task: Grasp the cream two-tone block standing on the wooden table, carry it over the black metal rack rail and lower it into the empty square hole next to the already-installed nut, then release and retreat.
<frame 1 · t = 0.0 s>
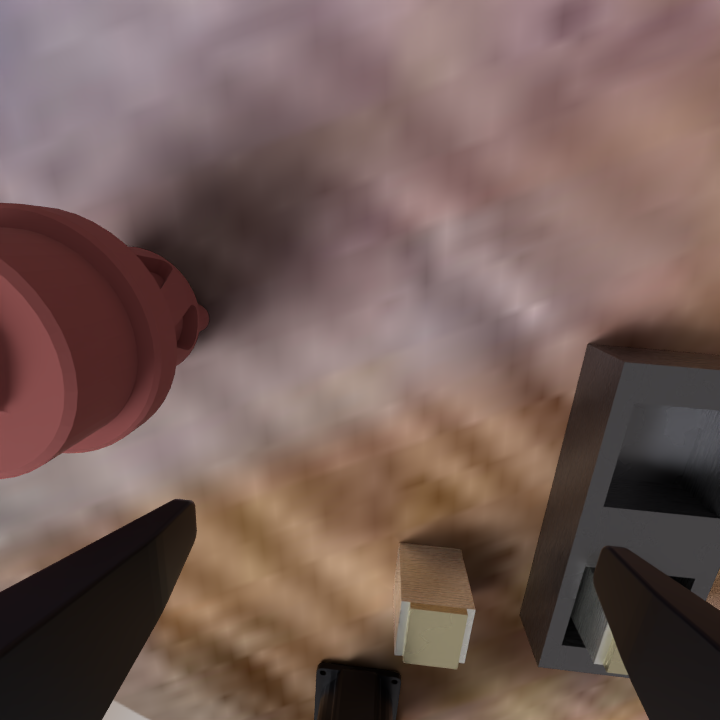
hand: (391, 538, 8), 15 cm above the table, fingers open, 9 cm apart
installed nut: (598, 571, 25), resting on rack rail
cream two-tone block: (426, 569, 27), on the table
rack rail: (614, 502, 24), on the table
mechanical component: (157, 307, 23), on the table
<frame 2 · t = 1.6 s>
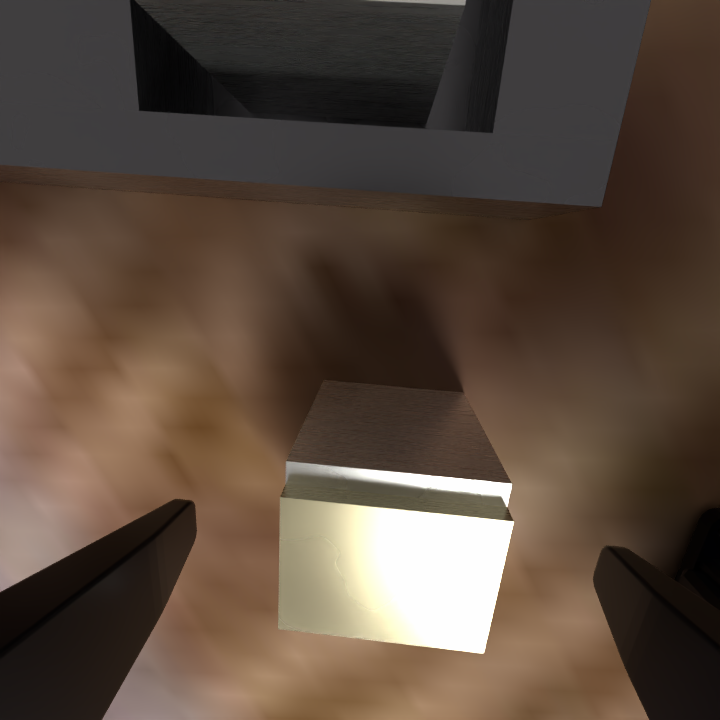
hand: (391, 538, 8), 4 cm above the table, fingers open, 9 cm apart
installed nut: (342, 9, 8), resting on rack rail
cream two-tone block: (386, 447, 12), on the table
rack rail: (136, 10, 9), on the table
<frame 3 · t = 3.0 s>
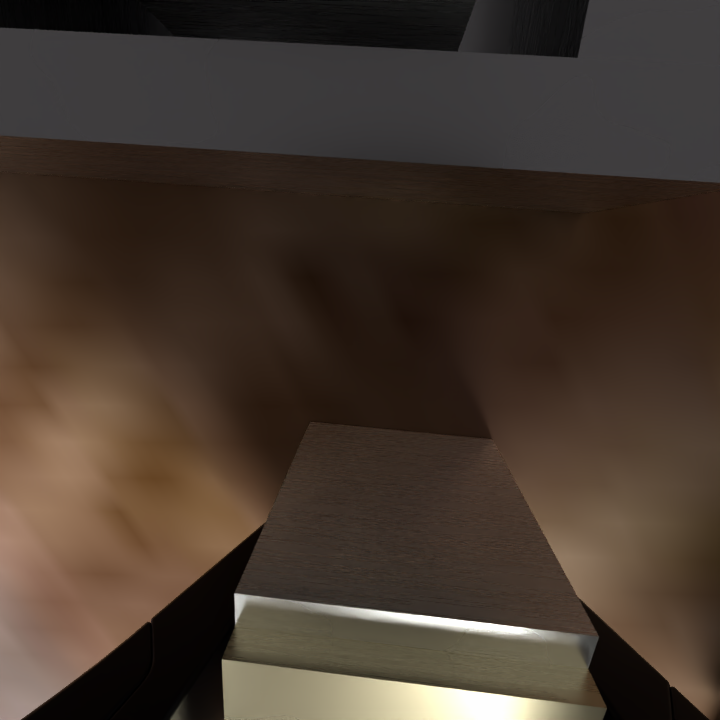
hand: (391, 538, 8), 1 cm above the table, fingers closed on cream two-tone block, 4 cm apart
cream two-tone block: (391, 507, 9), on the table, touching gripper
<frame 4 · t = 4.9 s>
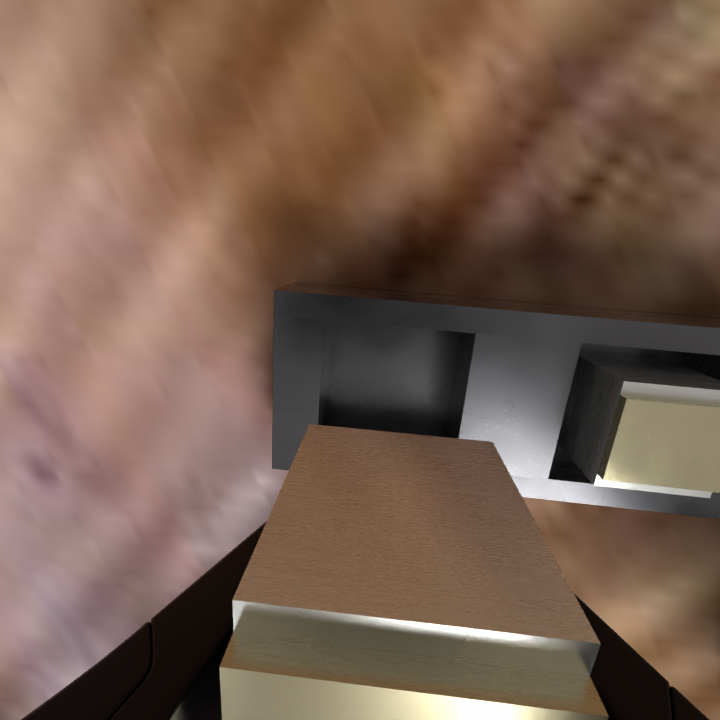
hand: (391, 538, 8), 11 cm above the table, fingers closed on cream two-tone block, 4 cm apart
installed nut: (601, 395, 18), resting on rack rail
cream two-tone block: (391, 509, 9), point 10 cm above the table, touching gripper
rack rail: (492, 381, 19), on the table
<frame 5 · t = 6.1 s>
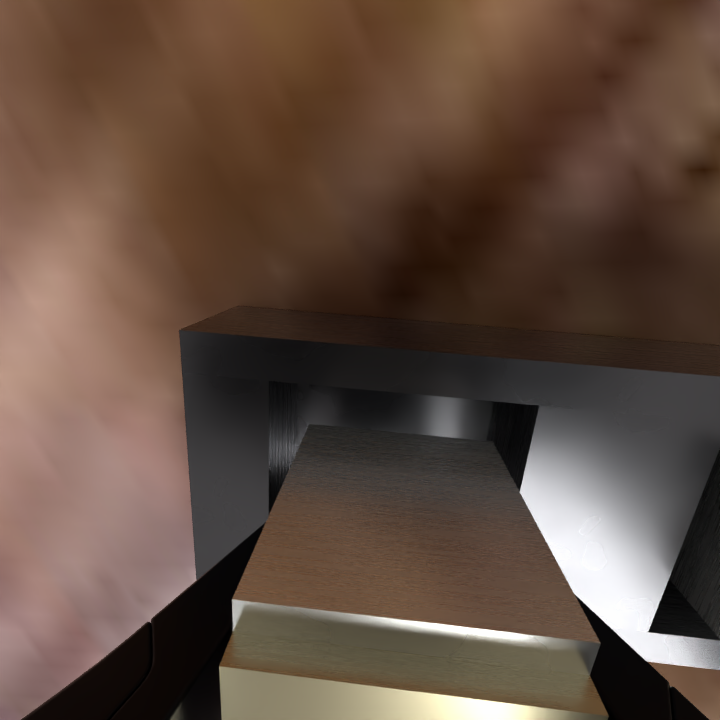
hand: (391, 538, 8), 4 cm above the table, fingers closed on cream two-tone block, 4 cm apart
installed nut: (713, 476, 12), resting on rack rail
cream two-tone block: (391, 509, 9), point 4 cm above the table, touching gripper
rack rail: (541, 452, 12), on the table
when the fingers open (4 cm above the table, at t = 6.9 s): cream two-tone block drops 2 cm, resting on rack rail.
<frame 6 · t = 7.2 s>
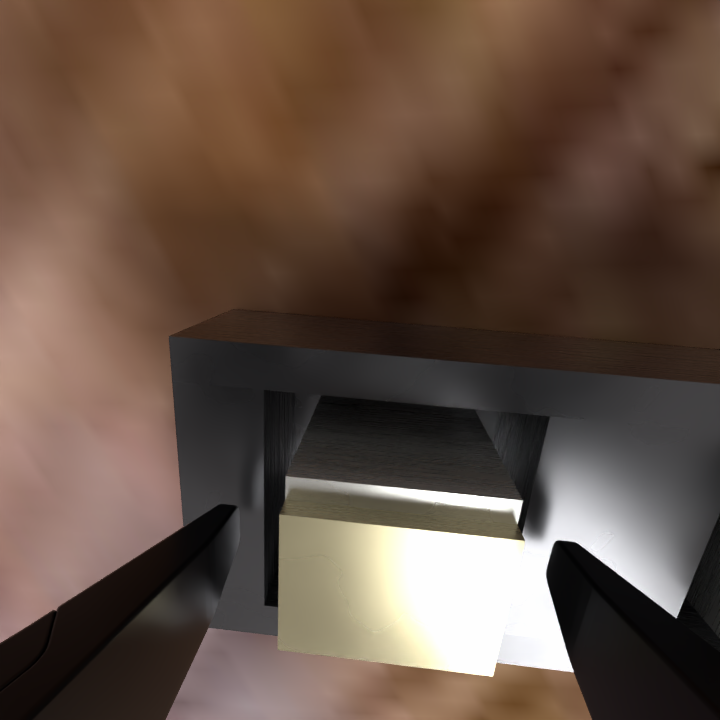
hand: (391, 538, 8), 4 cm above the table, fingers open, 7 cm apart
cream two-tone block: (389, 455, 12), resting on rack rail
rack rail: (548, 461, 12), on the table
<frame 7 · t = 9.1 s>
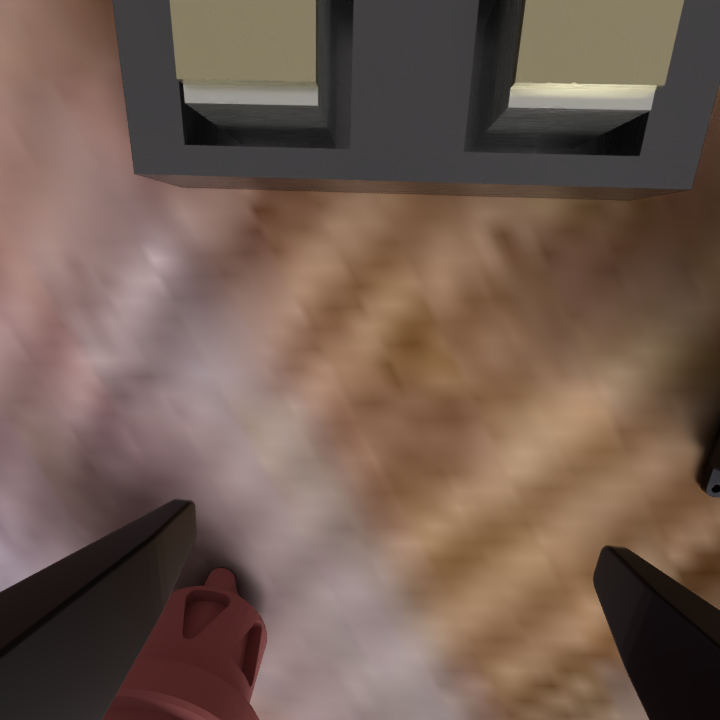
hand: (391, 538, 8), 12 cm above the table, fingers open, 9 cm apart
installed nut: (532, 87, 15), resting on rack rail
cream two-tone block: (284, 84, 16), resting on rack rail
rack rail: (406, 90, 16), on the table
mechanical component: (222, 603, 25), on the table
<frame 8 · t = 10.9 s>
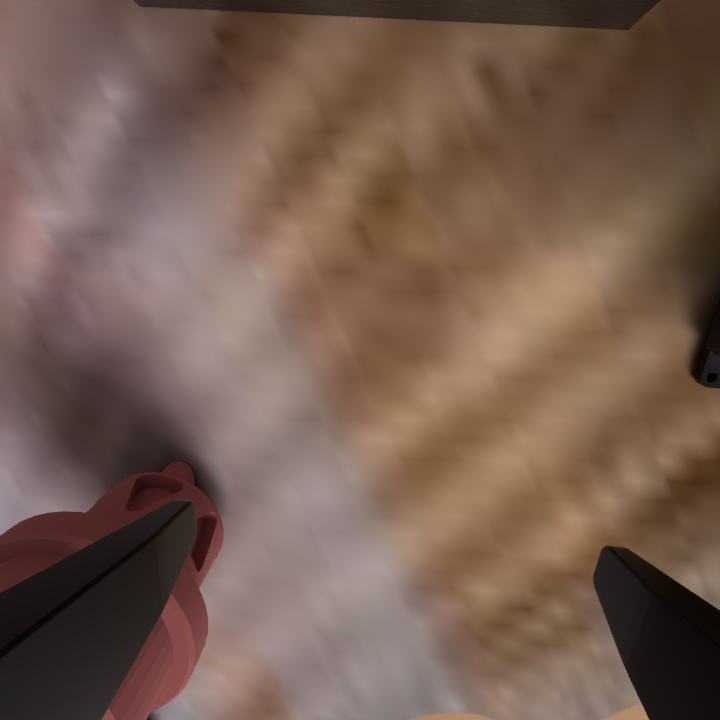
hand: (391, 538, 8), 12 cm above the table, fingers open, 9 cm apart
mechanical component: (180, 504, 24), on the table
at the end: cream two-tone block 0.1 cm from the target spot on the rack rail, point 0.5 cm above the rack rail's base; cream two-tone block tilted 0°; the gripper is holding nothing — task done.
